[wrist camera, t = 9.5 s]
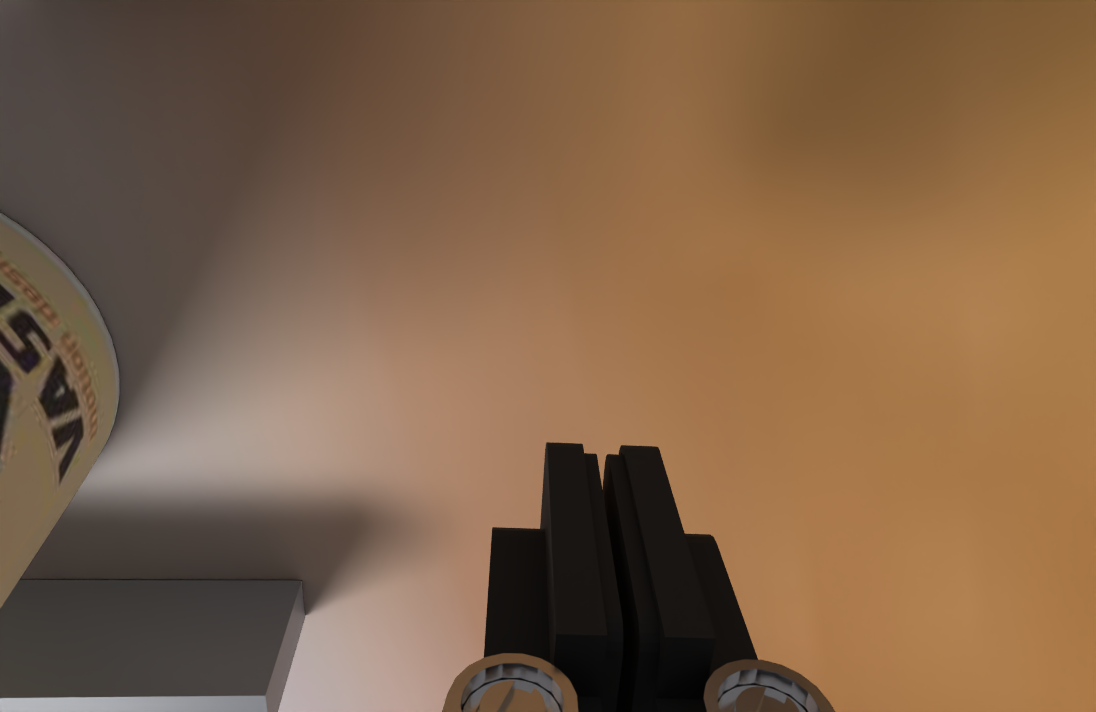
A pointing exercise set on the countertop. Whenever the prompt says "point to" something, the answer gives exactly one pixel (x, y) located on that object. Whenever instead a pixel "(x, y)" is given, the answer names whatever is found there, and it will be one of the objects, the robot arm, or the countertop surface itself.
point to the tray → (148, 645)
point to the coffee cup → (46, 394)
